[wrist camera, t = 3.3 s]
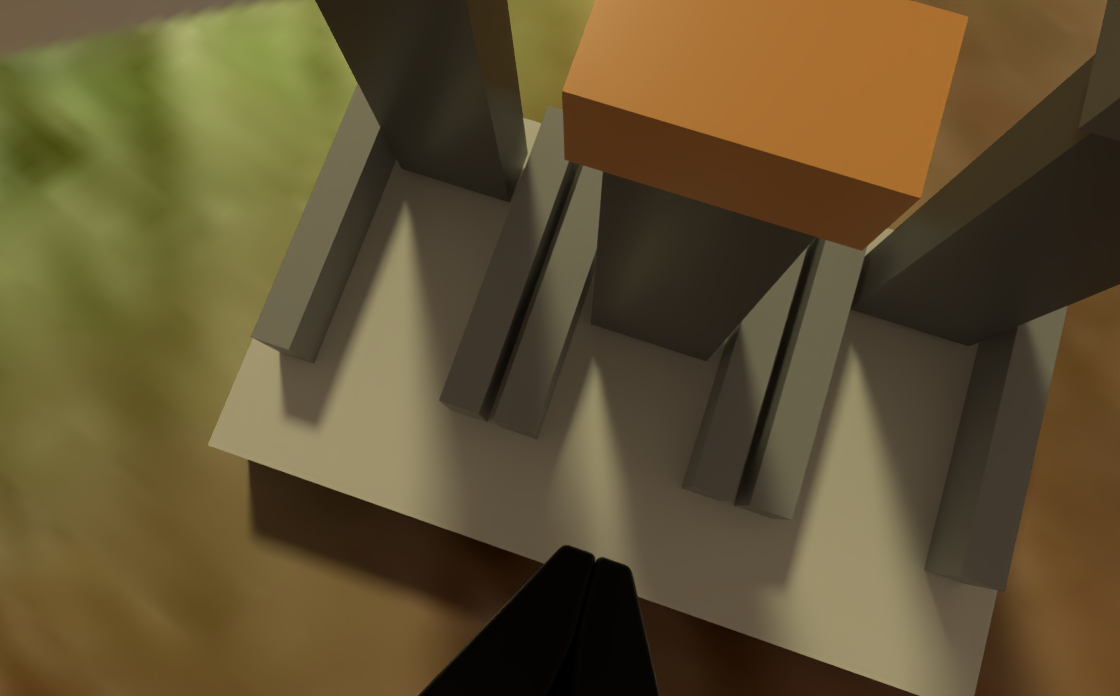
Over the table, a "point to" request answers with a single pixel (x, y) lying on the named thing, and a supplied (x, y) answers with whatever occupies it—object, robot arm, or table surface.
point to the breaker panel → (646, 415)
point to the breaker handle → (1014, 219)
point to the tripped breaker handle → (746, 145)
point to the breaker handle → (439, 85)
